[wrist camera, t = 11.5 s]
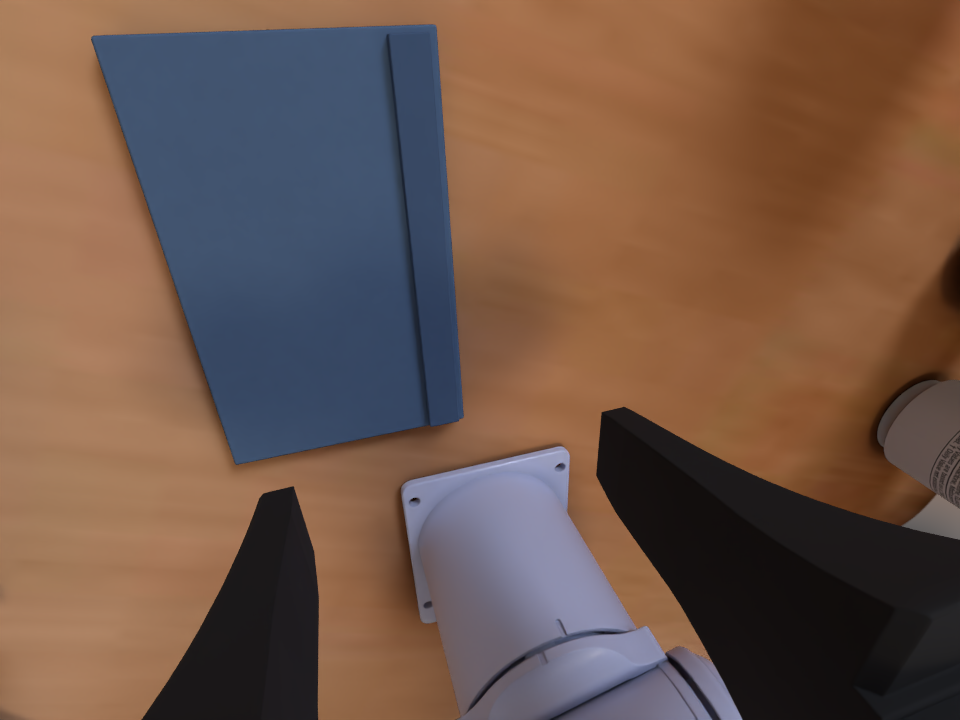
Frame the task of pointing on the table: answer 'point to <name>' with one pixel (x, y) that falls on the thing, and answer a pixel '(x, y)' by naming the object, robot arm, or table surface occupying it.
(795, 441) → the table surface
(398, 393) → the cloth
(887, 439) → the energy drink can
